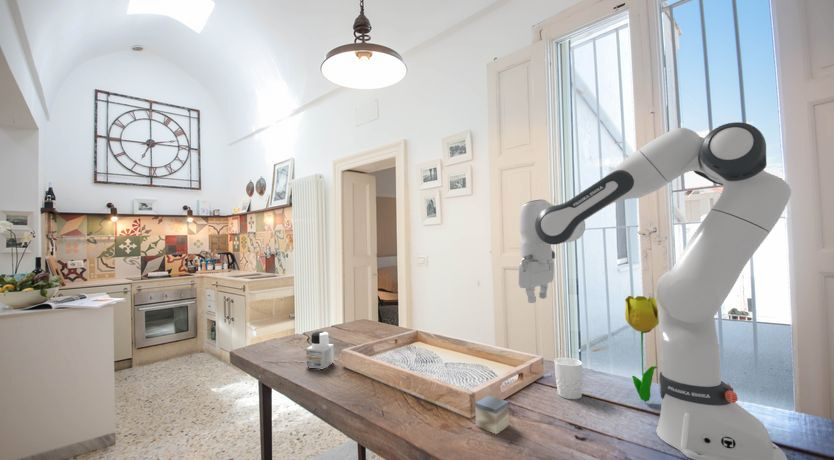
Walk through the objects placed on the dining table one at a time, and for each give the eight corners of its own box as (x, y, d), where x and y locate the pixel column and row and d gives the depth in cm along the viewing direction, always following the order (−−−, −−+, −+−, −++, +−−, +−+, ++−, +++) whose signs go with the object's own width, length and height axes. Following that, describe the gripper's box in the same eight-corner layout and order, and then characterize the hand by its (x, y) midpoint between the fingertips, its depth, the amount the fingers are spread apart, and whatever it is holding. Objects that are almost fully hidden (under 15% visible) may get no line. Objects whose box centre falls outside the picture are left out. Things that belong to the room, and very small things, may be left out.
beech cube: (495, 409, 89) (496, 434, 88) (508, 401, 93) (509, 425, 93) (475, 402, 93) (475, 426, 93) (488, 395, 97) (488, 418, 97)
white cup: (553, 397, 108) (552, 363, 109) (557, 388, 115) (555, 356, 116) (582, 402, 105) (581, 367, 105) (584, 392, 112) (583, 359, 112)
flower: (621, 400, 105) (617, 296, 106) (638, 394, 109) (634, 293, 110) (652, 412, 97) (647, 300, 99) (670, 405, 101) (664, 297, 102)
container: (306, 368, 140) (305, 334, 140) (317, 362, 147) (316, 329, 147) (323, 370, 137) (323, 335, 138) (334, 363, 145) (333, 330, 145)
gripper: (533, 255, 100) (535, 306, 99) (556, 252, 116) (558, 296, 115) (511, 255, 103) (513, 304, 103) (537, 253, 120) (538, 295, 119)
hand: (537, 300), depth 109 cm, fingers open, 8 cm apart
